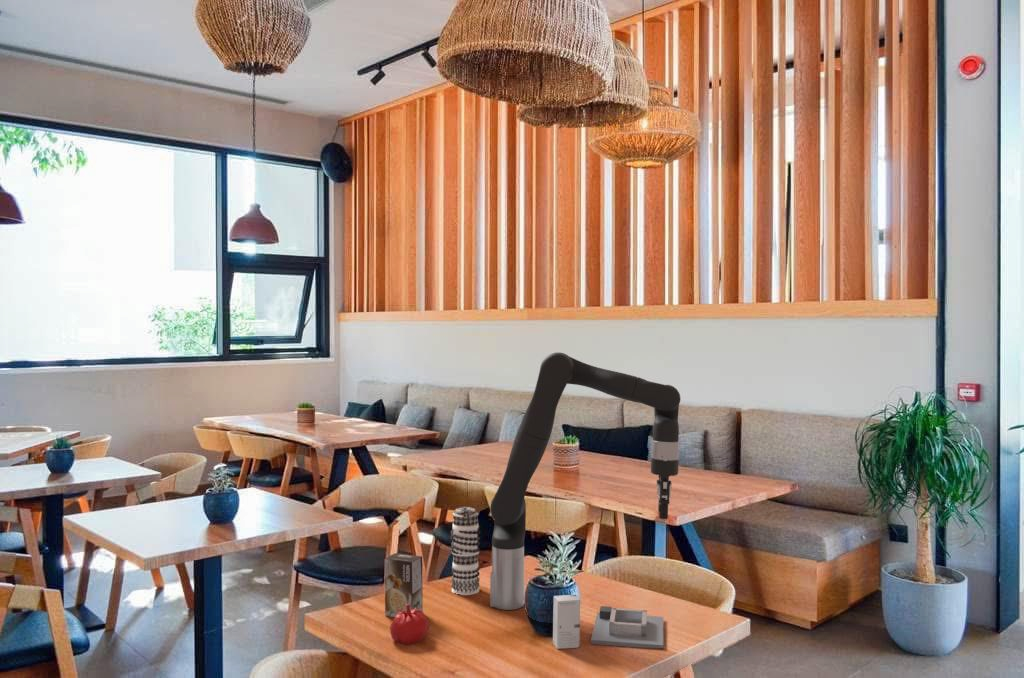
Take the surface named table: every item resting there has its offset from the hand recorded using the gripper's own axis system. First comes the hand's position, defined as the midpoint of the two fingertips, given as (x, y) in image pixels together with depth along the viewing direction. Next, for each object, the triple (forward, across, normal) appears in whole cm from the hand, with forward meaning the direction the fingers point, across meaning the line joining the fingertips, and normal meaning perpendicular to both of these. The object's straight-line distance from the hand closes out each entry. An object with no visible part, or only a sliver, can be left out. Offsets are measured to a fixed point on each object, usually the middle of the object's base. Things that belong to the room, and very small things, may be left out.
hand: (662, 515), depth 225 cm
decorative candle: (+30, -14, -57) cm, 66 cm away
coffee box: (+31, +9, -70) cm, 77 cm away
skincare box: (+30, +24, -24) cm, 45 cm away
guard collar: (+29, +12, -8) cm, 32 cm away
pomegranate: (+31, +26, -64) cm, 76 cm away
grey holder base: (+29, +12, -8) cm, 32 cm away
